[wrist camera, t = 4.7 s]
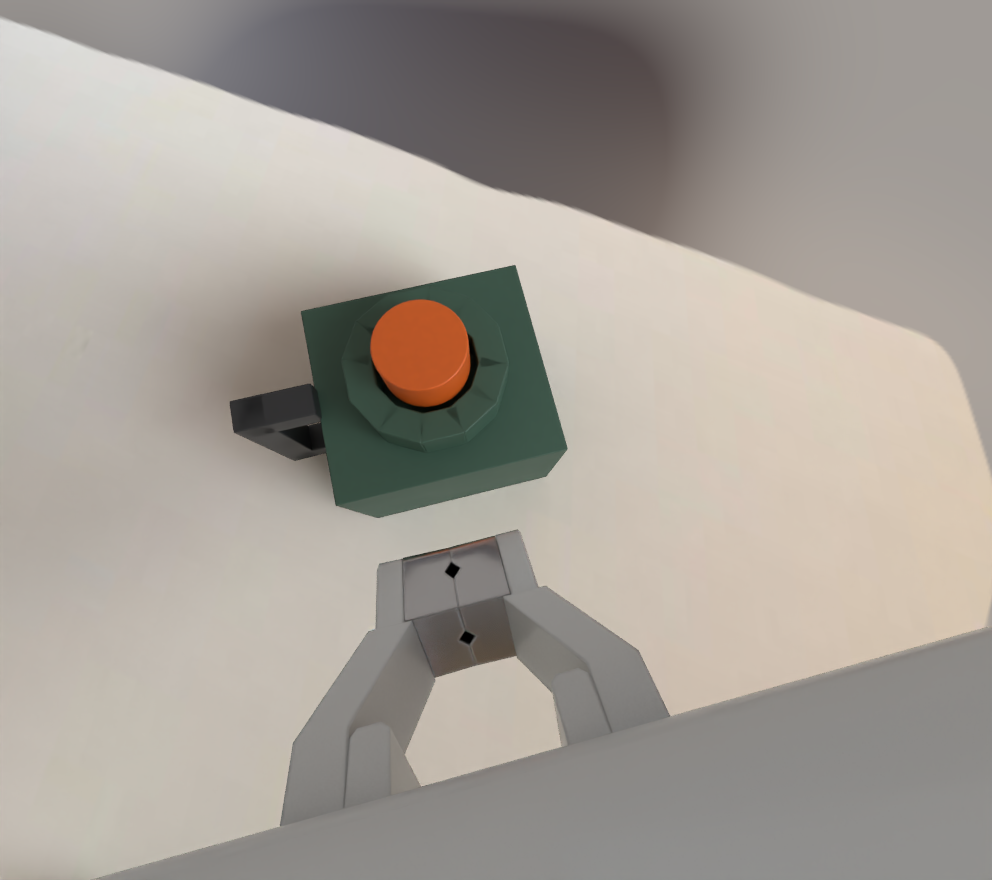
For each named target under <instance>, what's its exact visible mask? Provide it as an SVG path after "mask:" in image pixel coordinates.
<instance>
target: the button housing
mask: <svg viewBox="0 0 992 880" xmlns="http://www.w3.org/2000/svg"><path fill="white" fill-rule="evenodd" d="M420 299H422V300H430V301H435V302H438V303H440V304H442V305H444V306H446V307H448V308H449V309H451V310H452V311H453V312H454V313H456V315H457V316H458V317H459V318H460V319H461V321H462V322H463V324H464V326H465V328H466V331H467V335H468V341H469V352H470V372H469V376H468V379H467V381H466V383H465V385H464V387H463V388H462V389H461V391H460V392H459V393H458V394H457V395H456V396H454V397H453V398H452V399H450V400H449V401H447V402H445V403H443V404H440V405H437V406H431V407H418V406H413V405H410V404H407V403H405V402H403V401H401V400H400V399H398V398H397V397H396V396H395V395H394V394H392V392H391V391H390V390H389V389H388V387H387V385H386V384H385V382H384V380H383V379H382V377H381V376H380V374H379V372H378V371H377V369H376V367H375V365H374V363H373V361H372V357H371V352H370V342H371V336H372V333H373V330H374V328H375V326H376V324H377V322H378V321H379V320H380V318H381V317H382V316H383V315H384V314H385V313H386V312H387V311H388V310H390V309H391V308H393V307H394V306H396V305H398V304H400V303H403V302H406V301H410V300H420ZM301 315H302V321H303V326H304V332H305V337H306V343H307V348H308V354H309V359H310V365H311V371H312V376H313V382H314V387H315V389H316V390H317V393H318V398H319V404H320V409H321V415H322V419H320V421H321V426H322V432H323V437H324V443H325V448H326V454H327V459H328V465H329V471H330V476H331V482H332V487H333V493H334V498H335V504H336V506H339V507H343V508H346V509H349V510H353V511H356V512H360V513H363V514H366V515H370V516H373V517H376V518H380V517H384V516H388V515H392V514H396V513H400V512H404V511H408V510H412V509H416V508H420V507H424V506H428V505H432V504H436V503H441V502H445V501H449V500H453V499H457V498H461V497H465V496H469V495H473V494H477V493H481V492H485V491H489V490H493V489H497V488H501V487H505V486H510V485H514V484H518V483H522V482H526V481H530V480H534V479H538V478H542V477H546V476H547V475H548V473H549V472H550V471H551V470H552V468H553V467H554V466H555V464H556V463H557V462H558V461H559V459H560V458H561V457H562V456H563V454H564V453H565V452H566V450H567V445H566V441H565V438H564V434H563V431H562V427H561V424H560V420H559V417H558V413H557V410H556V406H555V403H554V399H553V396H552V392H551V389H550V385H549V382H548V378H547V375H546V371H545V367H544V364H543V360H542V357H541V353H540V350H539V346H538V343H537V339H536V336H535V332H534V329H533V325H532V322H531V318H530V315H529V311H528V308H527V304H526V301H525V297H524V294H523V290H522V287H521V283H520V280H519V276H518V273H517V269H516V266H515V265H513V266H508V267H504V268H499V269H494V270H490V271H485V272H481V273H476V274H471V275H467V276H462V277H457V278H453V279H448V280H444V281H439V282H434V283H430V284H425V285H420V286H416V287H411V288H406V289H402V290H397V291H393V292H388V293H383V294H379V295H374V296H369V297H365V298H360V299H355V300H351V301H346V302H342V303H337V304H332V305H328V306H323V307H318V308H314V309H309V310H305V311H301Z"/></svg>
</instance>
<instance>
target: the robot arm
mask: <svg viewBox="0 0 992 880" xmlns="http://www.w3.org/2000/svg"><path fill="white" fill-rule="evenodd" d="M514 656H517V658H518V659H519V660H520V661H521V662H522V663H523V664H524V665H525V666H526V667H527V668H528V669H529V670H530V671H531V672H532V673H533V674H534V675H535V676H536V677H537V678H538V679H539V680H540V681H541V682H542V683H543V684H544V685H545V686H546V687H547V688H548V689H549V690H550V691H551V692H552V693H553V699H554V705H555V711H556V717H557V723H558V729H559V735H560V741H561V746H562V747H560V748H556V749H553V750H549V751H546V752H542V753H539V754H535V755H532V756H528V757H524V758H521V759H517V760H514V761H510V762H507V763H503V764H500V765H496V766H493V767H489V768H486V769H482V770H479V771H475V772H471V773H468V774H464V775H461V776H457V777H454V778H450V779H447V780H443V781H440V782H436V783H433V784H429V785H426V786H422V787H421V785H420V783H419V782H418V780H417V778H416V776H415V774H414V772H413V770H412V768H411V766H410V764H409V762H408V761H407V759H406V757H405V755H404V754H405V752H406V750H407V747H408V745H409V742H410V740H411V738H412V735H413V733H414V730H415V728H416V726H417V723H418V721H419V719H420V716H421V714H422V711H423V709H424V707H425V704H426V702H427V699H428V697H429V695H430V692H431V690H432V687H433V685H434V683H435V677H439V676H442V675H446V674H449V673H452V672H456V671H459V670H462V669H466V668H469V667H472V666H476V665H480V664H484V663H489V662H493V661H497V660H501V659H505V658H510V657H514ZM92 880H992V626H989V627H985V628H982V629H978V630H975V631H971V632H968V633H964V634H961V635H957V636H953V637H950V638H946V639H943V640H939V641H936V642H932V643H929V644H925V645H922V646H918V647H914V648H911V649H907V650H904V651H900V652H897V653H893V654H890V655H886V656H883V657H879V658H875V659H872V660H868V661H865V662H861V663H858V664H854V665H851V666H847V667H844V668H840V669H836V670H833V671H829V672H826V673H822V674H819V675H815V676H812V677H808V678H805V679H801V680H798V681H794V682H790V683H787V684H783V685H780V686H776V687H773V688H769V689H766V690H762V691H759V692H755V693H751V694H748V695H744V696H741V697H737V698H734V699H730V700H727V701H723V702H720V703H716V704H712V705H709V706H705V707H702V708H698V709H695V710H691V711H688V712H684V713H681V714H677V715H673V716H670V715H669V713H668V711H667V708H666V706H665V704H664V702H663V700H662V698H661V696H660V694H659V692H658V690H657V688H656V686H655V684H654V682H653V679H652V677H651V675H650V673H649V671H648V669H647V667H646V665H645V663H644V661H643V659H642V657H641V655H640V652H639V650H637V649H636V648H634V647H633V646H632V645H630V644H629V643H627V642H626V641H624V640H623V639H622V638H620V637H619V636H617V635H616V634H614V633H613V632H611V631H610V630H609V629H607V628H606V627H604V626H603V625H601V624H600V623H598V622H597V621H596V620H594V619H593V618H591V617H590V616H588V615H587V614H586V613H584V612H583V611H581V610H580V609H578V608H577V607H575V606H574V605H573V604H571V603H570V602H568V601H567V600H565V599H564V598H563V597H561V596H560V595H558V594H557V593H555V592H554V591H552V590H551V589H550V588H548V587H547V586H542V587H538V584H537V581H536V578H535V575H534V572H533V569H532V566H531V563H530V560H529V557H528V554H527V551H526V548H525V545H524V542H523V539H522V536H521V533H520V531H519V530H518V529H517V530H514V531H510V532H506V533H502V534H499V535H496V538H495V536H492V537H488V538H484V539H480V540H476V541H472V542H468V543H465V544H461V545H457V546H453V547H450V548H446V549H441V550H437V551H432V552H428V553H423V554H419V555H415V556H410V557H406V558H403V559H400V560H395V561H390V562H386V563H381V564H379V566H378V569H377V594H376V630H372V631H368V633H367V634H366V636H365V637H364V639H363V640H362V642H361V643H360V645H359V646H358V648H357V649H356V650H355V652H354V653H353V655H352V656H351V658H350V659H349V661H348V662H347V664H346V665H345V667H344V668H343V670H342V671H341V673H340V674H339V676H338V677H337V679H336V680H335V682H334V683H333V685H332V686H331V688H330V689H329V690H328V692H327V693H326V695H325V696H324V698H323V699H322V701H321V702H320V704H319V705H318V707H317V708H316V710H315V711H314V713H313V714H312V716H311V717H310V719H309V720H308V722H307V723H306V725H305V726H304V728H303V729H302V730H301V732H300V733H299V735H298V736H297V738H296V739H295V741H294V742H293V747H292V753H291V760H290V766H289V772H288V779H287V785H286V791H285V797H284V804H283V810H282V816H281V823H280V827H277V828H273V829H270V830H266V831H263V832H259V833H256V834H252V835H248V836H245V837H241V838H238V839H234V840H231V841H227V842H224V843H220V844H217V845H213V846H209V847H206V848H202V849H199V850H195V851H192V852H188V853H185V854H181V855H177V856H174V857H170V858H167V859H163V860H160V861H156V862H153V863H149V864H146V865H142V866H138V867H135V868H131V869H128V870H124V871H121V872H117V873H114V874H110V875H107V876H103V877H99V878H96V879H92Z"/></svg>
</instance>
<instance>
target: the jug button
mask: <svg viewBox="0 0 992 880" xmlns="http://www.w3.org/2000/svg"><path fill="white" fill-rule="evenodd" d="M370 352H371V357H372V361H373V363H374V365H375V367H376V369H377V371H378V372H379V374H380V376H381V377H382V379H383V380H384V382H385V384H386V385H387V387H388V389H389V390H390V391H391V392H392V394H394V395H395V396H396V397H397V398H398V399H400V400H401V401H403V402H405V403H407V404H410V405H413V406H418V407H431V406H437V405H440V404H443V403H445V402H447V401H449V400H450V399H452V398H453V397H454V396H456V395H457V394H458V393H459V392H460V391H461V389H462V388H463V387H464V385H465V383H466V381H467V379H468V376H469V372H470V352H469V341H468V335H467V331H466V328H465V326H464V324H463V322H462V321H461V319H460V318H459V317H458V316H457V315H456V313H454V312H453V311H452V310H451V309H449V308H448V307H446V306H444V305H442V304H440V303H438V302H435V301H430V300H422V299H420V300H410V301H406V302H403V303H400V304H398V305H396V306H394V307H393V308H391V309H390V310H388V311H387V312H386V313H385V314H384V315H383V316H382V317H381V318H380V320H379V321H378V322H377V324H376V326H375V328H374V330H373V333H372V336H371V342H370Z"/></svg>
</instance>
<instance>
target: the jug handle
mask: <svg viewBox="0 0 992 880" xmlns="http://www.w3.org/2000/svg"><path fill="white" fill-rule="evenodd" d="M230 409H231V416H232V423H233V430H234V433H236V434H238V435H240V436H242V437H244V438H247V439H249V440H251V441H253V442H255V443H257V444H260V445H262V446H264V447H266V448H268V449H270V450H272V451H275V452H277V453H279V454H281V455H283V456H285V457H287V458H290V459H292V460H294V461H296V460H300V459H304V458H308V457H313V456H317V455H321V454H325V453H326V448H325V443H324V437H323V432H322V426H321V423H318V424H313V423H317V422H321V421H320V419H322V415H321V409H320V404H319V398H318V393H317V390H316V389H315V388H314V387H313V386H312V385H311V384H305V385H301V386H297V387H292V388H288V389H283V390H279V391H274V392H270V393H266V394H260V395H256V396H252V397H247V398H243V399H238V400H234V401H230ZM309 424H313V425H309ZM308 425H309V426H308Z"/></svg>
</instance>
